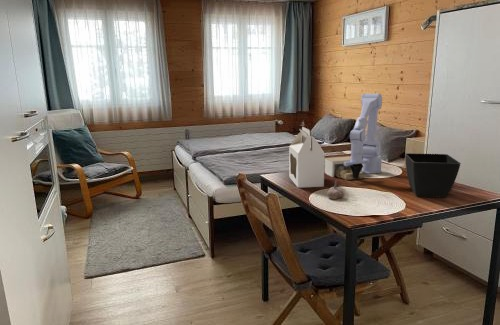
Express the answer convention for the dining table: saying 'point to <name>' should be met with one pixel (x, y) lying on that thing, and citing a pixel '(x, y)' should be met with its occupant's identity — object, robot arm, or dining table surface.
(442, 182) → the flower pot
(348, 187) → the dining table surface
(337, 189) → the garlic bulb
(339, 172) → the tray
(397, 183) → the dining table surface
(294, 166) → the gable box
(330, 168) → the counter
